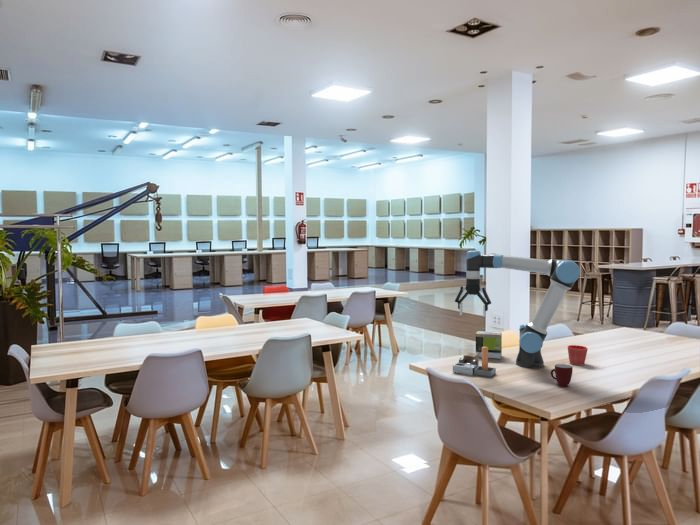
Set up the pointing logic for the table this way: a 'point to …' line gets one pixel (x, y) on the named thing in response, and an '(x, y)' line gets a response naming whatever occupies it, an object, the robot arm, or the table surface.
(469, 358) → the chock block
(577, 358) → the flower pot
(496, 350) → the retro computer monitor
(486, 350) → the stop pin
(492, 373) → the pin tray
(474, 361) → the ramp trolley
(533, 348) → the robot arm
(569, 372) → the mug
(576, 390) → the table surface
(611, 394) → the table surface
